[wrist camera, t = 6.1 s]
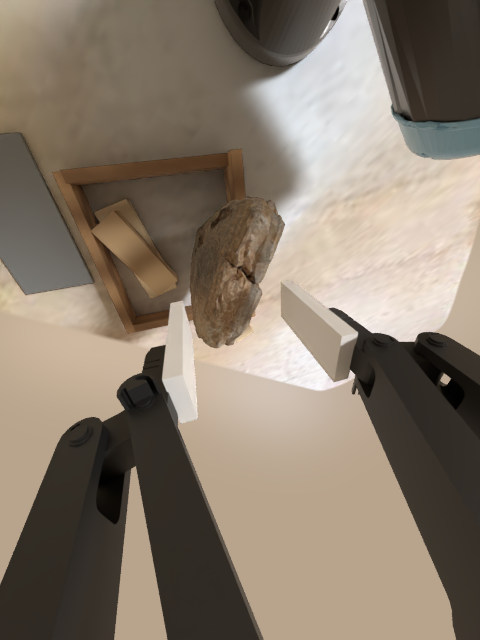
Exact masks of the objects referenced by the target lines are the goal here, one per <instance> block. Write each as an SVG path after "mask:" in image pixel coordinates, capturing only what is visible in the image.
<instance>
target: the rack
mask: <svg viewBox="0 0 480 640" xmlns="http://www.w3.org/2000/svg"><path fill="white" fill-rule="evenodd" d="M219 169H223V171H224V179H225V187H226V195H227V203H229V202H230V201H232V200H236V199H237V200H239V201H240V200H243V198H245V184H244V172H243V160H242V149H234V150H230V151H229V152H228V153H221V154H212V155H202V156H192V157H182V158H173V159H163V160H153V161H143V162H134V163H124V164H114V165H104V166H95V167H85V168H75V169H65V170H60V171H59V172H52V173H53V175H54V178H55V180H56V182H57V184H58V186H59V188H60V190H61V192H62V195H63V197H64V199H65V201H66V203H67V205H68V207H69V210H70V212H71V214H72V216H73V218H74V220H75V222H76V224H77V227H78V229H79V231H80V233H81V235H82V237H83V239H84V241H85V244H86V246H87V248H88V250H89V252H90V254H91V256H92V258H93V261H94V263H95V265H96V267H97V269H98V271H99V273H100V276H101V278H102V280H103V282H104V284H105V286H106V288H107V290H108V293H109V295H110V297H111V299H112V301H113V303H114V305H115V307H116V310H117V312H118V314H119V316H120V318H121V320H122V322H123V324H124V327H125V329H126V331H127V333H133V332H138V331H143V330H147V329H152V328H157V327H162V326H166V325H168V321H169V312H170V310H166V311H161V312H156V313H151V314H146V315H141V316H136V315H135V312H134V310H133V308H132V305H131V303H130V300H129V298H128V296H127V293H126V291H125V289H124V286H123V284H122V282H121V279H120V277H119V274H118V272H117V270H116V267H115V265H114V263H113V260H112V258H111V256H110V253H109V251H108V248H107V246H106V245H105V244H104V243H102V242H101V241H100V240H99V239H98V238H97V237H96V236H95V235H94V234H93V233H92V232H91V230H92V229H93V228H95V227H96V226H97V222H96V220H95V218H94V215H93V213H92V211H91V208H90V206H89V203H88V201H87V199H86V196H85V194H84V192H83V189H82V187H81V185H87V184H95V183H104V182H113V181H122V180H131V179H140V178H148V177H157V176H166V175H175V174H184V173H193V172H201V171H210V170H219ZM185 311H186V314H187V318H188V321H190V320H193V315H192V305H191V306H186V307H185ZM254 316H255V311H254V313H253V315H252V317H254Z"/></svg>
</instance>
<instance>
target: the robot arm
mask: <svg viewBox="0 0 480 640" xmlns="http://www.w3.org/2000/svg"><path fill="white" fill-rule="evenodd" d="M346 2H347V0H215V3H216V6H217V8H218V11H219V13H220V15H221V17H222V19H223V21H224V23H225V25H226V27H227V29H228V30H229V32H230V33H231V35H232V36H233V38H234V39H235V41H236V42H237V43H238V44H239V45H240V46H241V48H242V49H243V50H244V51H246V52H247V53H248V54H249V55H250V56H252V57H253V58H255V59H256V60H258V61H260V62H262V63H265V64H268V65H272V66H286V65H290V64H293V63H296V62H298V61H300V60H301V59H303V58H304V57H306V56H307V55H308V54H309V53H311V52H312V51H313V50H314V49H315V48H316V46H317V45H318V44H319V43H320V42H321V41H322V40H323V39H324V38H325V36H326V35H327V34H328V33H329V31H330V30H331V29H332V27H333V26H334V24H335V23H336V21H337V20H338V18H339V16H340V14H341V12H342V11H343V9H344V7H345V4H346ZM363 3H364V7H365V10H366V14H367V17H368V21H369V24H370V28H371V31H372V35H373V38H374V42H375V45H376V49H377V52H378V55H379V59H380V62H381V66H382V69H383V73H384V76H385V80H386V83H387V87H388V90H389V94H390V97H391V101H392V105H391V112H392V115H393V117H394V118H395V120H396V121H397V122H398V123H399V126H400V129H401V131H402V134H403V137H404V139H405V142H406V145H407V147H408V148H409V149H410V150H411V151H412V152H413V153H414V154H416V155H418V156H421V157H424V158H432V159H434V160H450V159H459V158H465V157H471V156H476V155H480V0H363ZM281 317H282V318H283V319H284V320H285V322H286V323H287V324H288V325H289V327H290V328H291V329H292V330H293V332H294V333H295V334H296V335H297V337H298V338H299V339H300V340H301V342H302V343H303V344H304V346H305V347H306V348H307V349H308V351H309V352H310V353H311V354H312V356H313V357H314V358H315V359H316V361H317V362H318V363H319V364H320V366H321V367H322V368H323V369H324V371H325V372H326V373H327V374H328V376H329V377H330V378H331V379H332V381H333V382H336V381H340V380H344V379H347V378H348V376H349V372H350V370H351V371H352V372H353V373H354V374H355V379H354V383H353V387H352V394H355V391H356V388H357V389H358V391H359V392H358V394H360V396H361V398H362V400H363V403H364V405H365V407H366V410H367V412H368V414H369V417H370V419H371V421H372V424H373V426H374V428H375V430H376V433H377V435H378V437H379V440H380V442H381V444H382V446H383V449H384V451H385V453H386V456H387V458H388V460H389V462H390V465H391V467H392V469H393V472H394V474H395V476H396V478H397V481H398V483H399V485H400V487H401V490H402V492H403V495H404V497H405V499H406V501H407V503H408V506H409V508H410V511H411V513H412V515H413V517H414V520H415V522H416V524H417V527H418V529H419V531H420V533H421V536H422V538H423V540H424V543H425V545H426V547H427V550H428V552H429V554H430V556H431V559H432V561H433V563H434V565H435V568H436V570H437V572H438V575H439V577H440V579H441V582H442V584H443V586H444V588H445V591H446V593H447V595H448V598H449V600H450V604H451V608H452V618H453V619H452V620H453V628H454V632H455V636H456V640H480V356H479V355H478V354H476V353H474V352H473V351H471V350H469V349H468V348H466V347H464V346H463V345H461V344H459V343H458V342H456V341H455V340H453V339H451V338H449V337H447V336H445V335H442V334H439V333H434V332H423V333H420V334H419V335H418V336H417V338H416V340H415V342H398V341H397V340H396V339H395V338H393V337H391V336H389V335H386V334H381V333H371V332H370V331H368V330H367V329H366V328H364V327H363V326H362V325H360V324H359V323H357V322H356V321H354V320H353V319H352V318H351V317H348V315H347V314H345V313H344V312H343V311H341V310H338V309H335V308H329V309H328V308H327V307H325V306H324V305H323V304H322V303H320V302H319V301H318V300H317V299H315V298H314V297H313V296H312V295H310V294H309V293H308V292H307V291H305V290H304V289H303V288H301V287H300V286H299V285H298V284H296V283H295V282H294V281H293V280H287V281H282V282H281ZM444 373H445V374H446V375H448V376H449V377H450V378H451V380H450V381H449V383H448V384H447V385H446V384H444V383H442V382H441V381H440V379H441V377H442V376H443V374H444ZM117 398H118V399H119V400H120V402H121V404H122V406H123V407H124V409H125V410H124V411H122V412H121V413H119V414H117V415H115V416H113V417H111V418H109V419H108V420H106V421H104V422H101V420H100V419H99V418H95V417H90V418H85V419H83V420H81V421H79V422H77V423H76V424H74V425H73V426H71V427H70V428H69V429H68V430H67V431H66V432H65V433H64V434H63V435H62V437H61V439H60V441H59V442H58V444H57V447H56V449H55V452H54V454H53V457H52V459H51V461H50V464H49V466H48V469H47V471H46V474H45V476H44V479H43V481H42V483H41V486H40V488H39V491H38V493H37V496H36V499H35V501H34V503H33V506H32V508H31V511H30V513H29V516H28V518H27V520H26V523H25V525H24V528H23V531H22V533H21V535H20V538H19V540H18V543H17V545H16V547H15V550H14V552H13V555H12V557H11V560H10V562H9V565H8V567H7V570H6V572H5V574H4V577H3V580H2V582H1V584H0V640H114V634H115V624H116V614H117V603H118V594H119V584H120V574H121V563H122V554H123V544H124V534H125V524H126V513H127V504H128V494H129V484H130V474H131V468H133V467H135V466H136V469H137V474H138V479H139V485H140V490H141V496H142V501H143V507H144V513H145V518H146V523H147V529H148V534H149V540H150V545H151V551H152V556H153V562H154V567H155V573H156V578H157V583H158V589H159V595H160V600H161V605H162V611H163V616H164V622H165V628H166V633H167V639H168V640H263V637H262V635H261V632H260V630H259V627H258V625H257V622H256V620H255V617H254V615H253V612H252V610H251V607H250V605H249V602H248V600H247V597H246V595H245V592H244V590H243V587H242V585H241V582H240V580H239V577H238V575H237V573H236V570H235V568H234V565H233V563H232V560H231V558H230V555H229V553H228V550H227V548H226V545H225V543H224V540H223V538H222V535H221V533H220V530H219V528H218V525H217V523H216V520H215V518H214V515H213V513H212V511H211V508H210V506H209V503H208V501H207V498H206V496H205V494H204V491H203V488H202V486H201V483H200V481H199V478H198V476H197V474H196V471H195V468H194V466H193V463H192V461H191V459H190V456H189V454H188V451H187V449H186V446H185V444H184V441H183V439H182V436H181V434H180V431H179V429H178V418H179V421H180V423H184V422H188V421H192V420H196V419H198V411H197V396H196V381H195V366H194V351H193V337H192V332H191V329H190V325H189V321H188V318H187V314H186V311H185V307H184V303H183V301H179V302H173V303H171V304H170V312H169V321H168V330H167V339H166V345H163V346H158V347H154V348H151V349H150V351H149V352H148V353H147V355H146V357H145V361H144V366H143V371H142V373H140V374H137V375H134V376H132V377H131V378H129V379H127V380H126V381H125V382H124V383H123V384H121V386H120V387H119V389H118V390H117Z"/></svg>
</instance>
